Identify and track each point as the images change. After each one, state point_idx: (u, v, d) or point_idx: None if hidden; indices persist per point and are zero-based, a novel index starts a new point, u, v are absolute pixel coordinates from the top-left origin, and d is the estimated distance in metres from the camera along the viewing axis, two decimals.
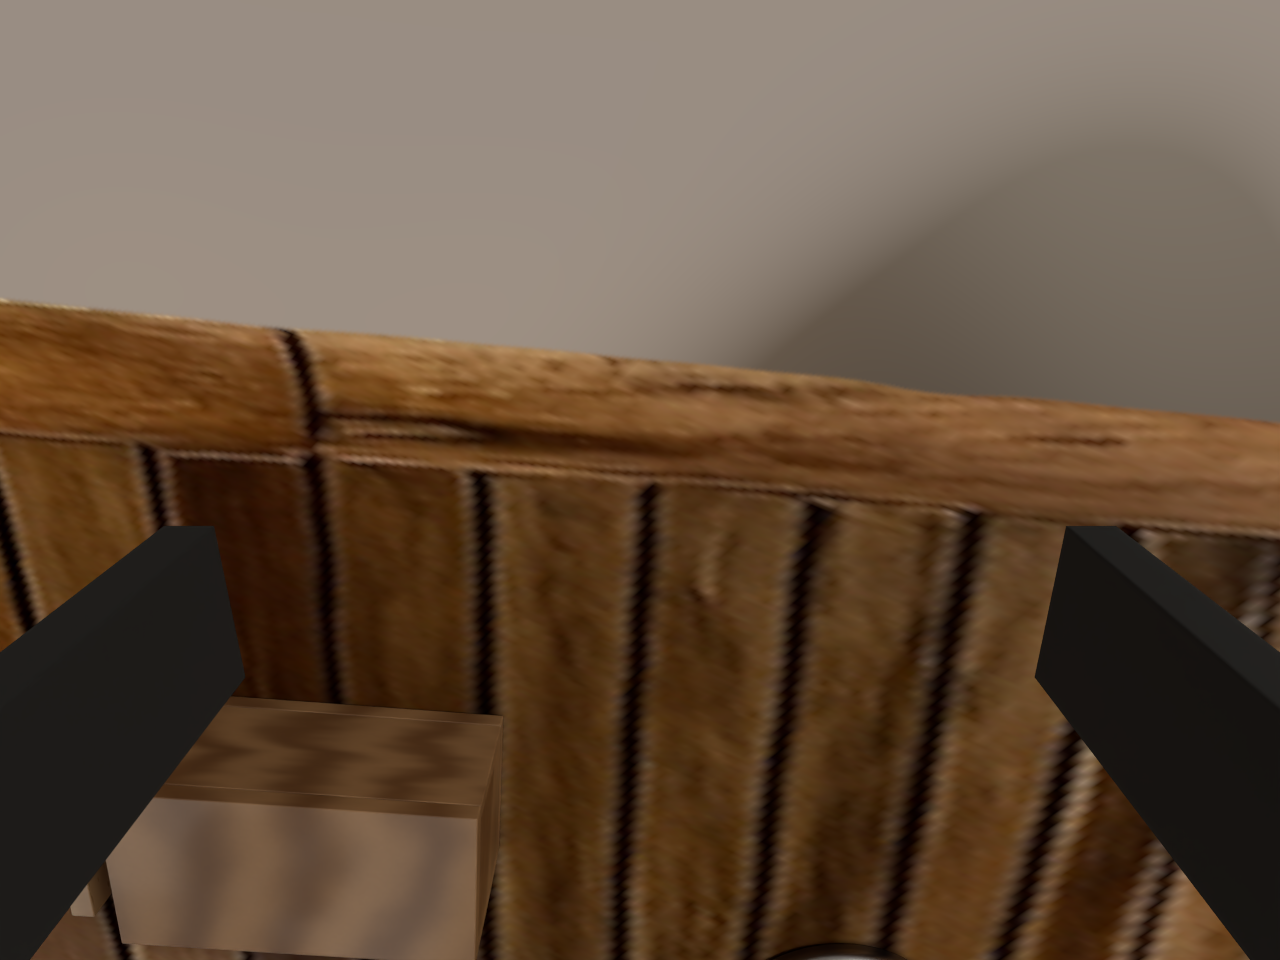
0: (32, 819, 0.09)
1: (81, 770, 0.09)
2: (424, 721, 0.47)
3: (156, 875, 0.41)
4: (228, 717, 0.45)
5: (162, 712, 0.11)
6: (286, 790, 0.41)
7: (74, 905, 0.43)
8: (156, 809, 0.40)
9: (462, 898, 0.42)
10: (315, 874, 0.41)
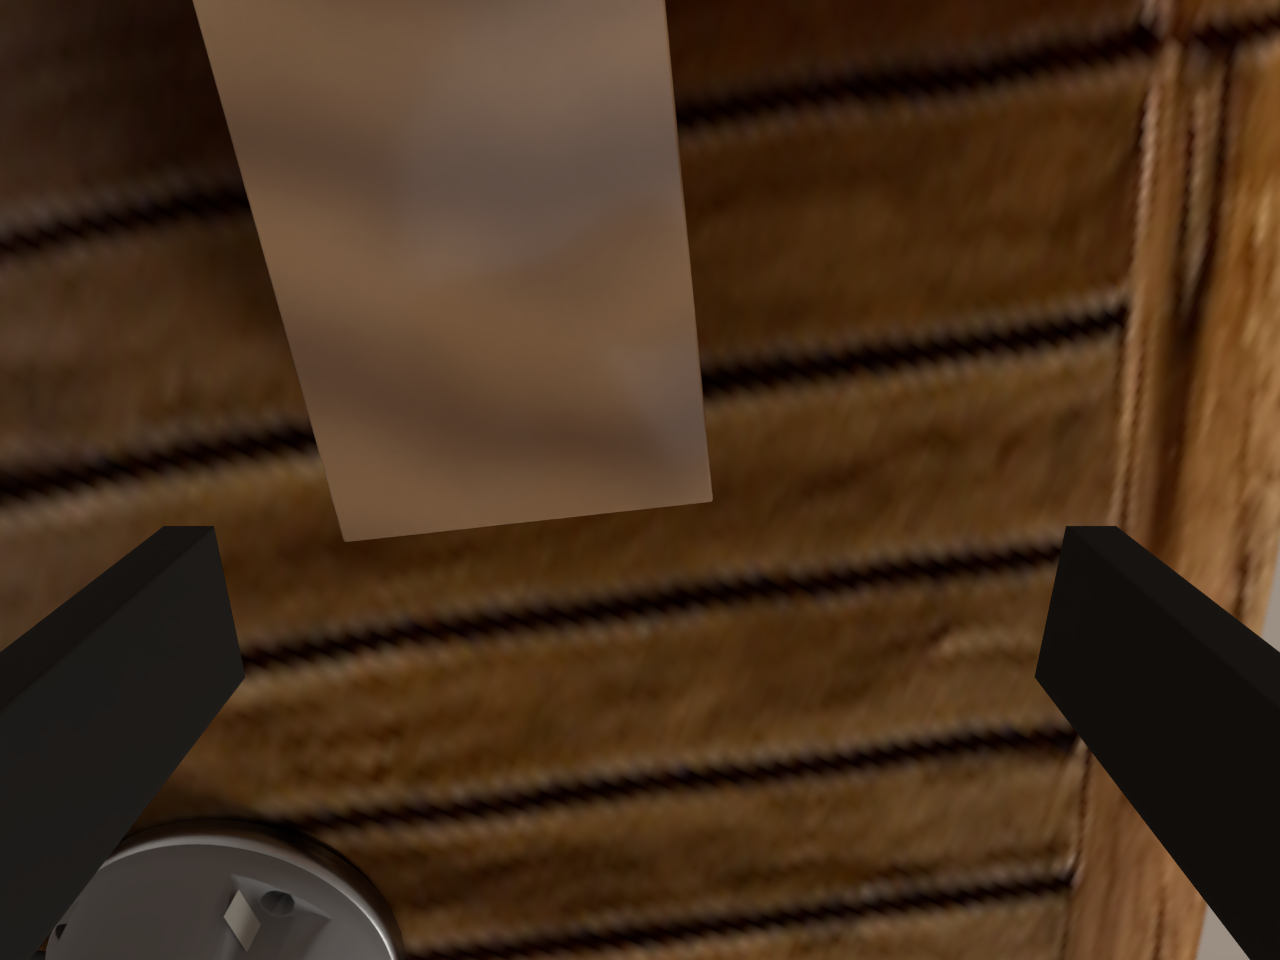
0: (32, 819, 0.09)
1: (81, 770, 0.09)
2: None
3: None
4: None
5: (162, 712, 0.11)
6: None
7: None
8: None
9: (513, 499, 0.22)
10: (497, 201, 0.19)
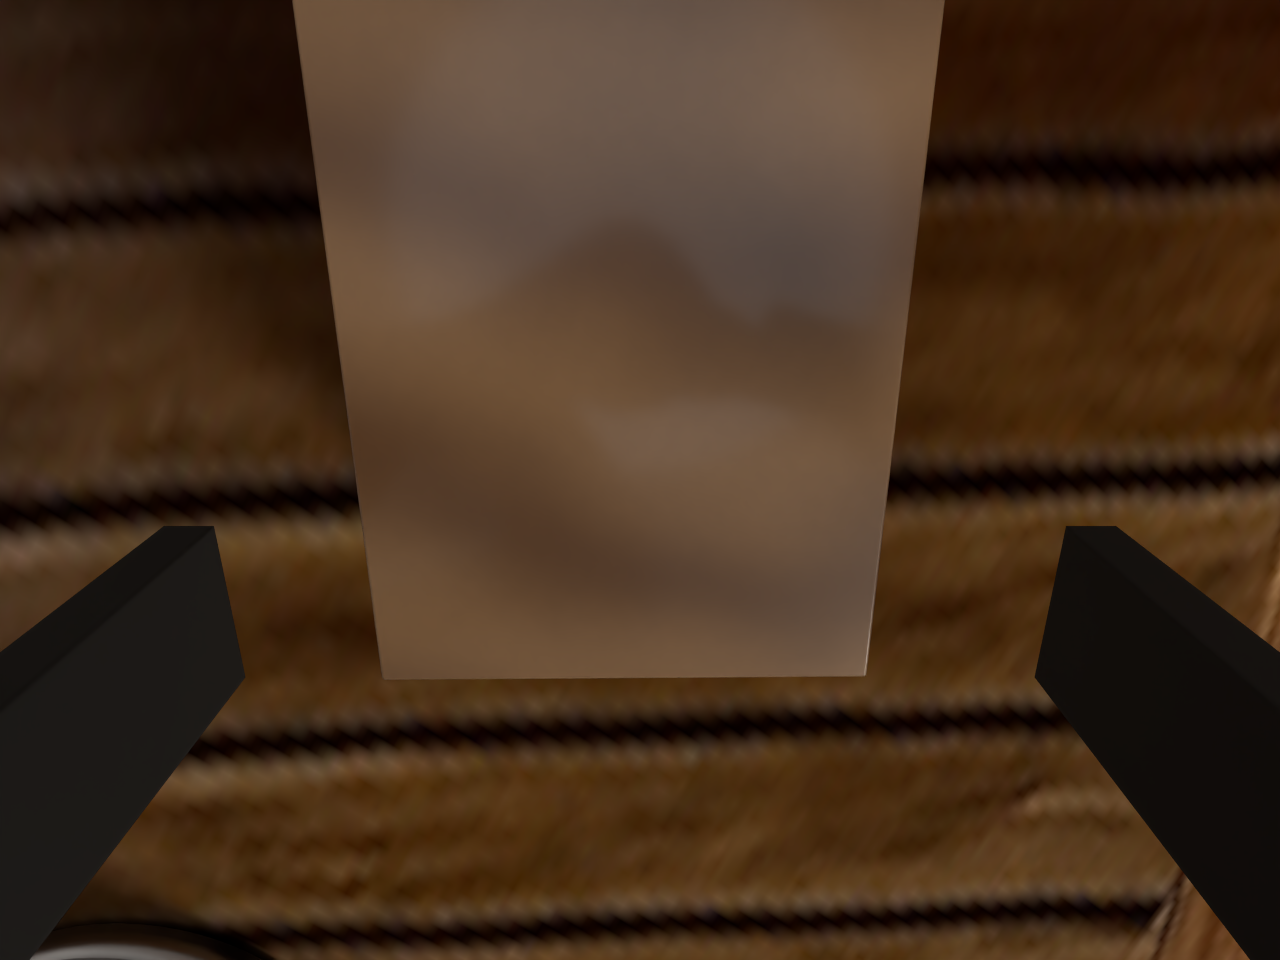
0: (32, 819, 0.09)
1: (81, 771, 0.09)
2: None
3: None
4: None
5: (162, 712, 0.11)
6: None
7: None
8: None
9: (613, 650, 0.17)
10: (664, 278, 0.14)
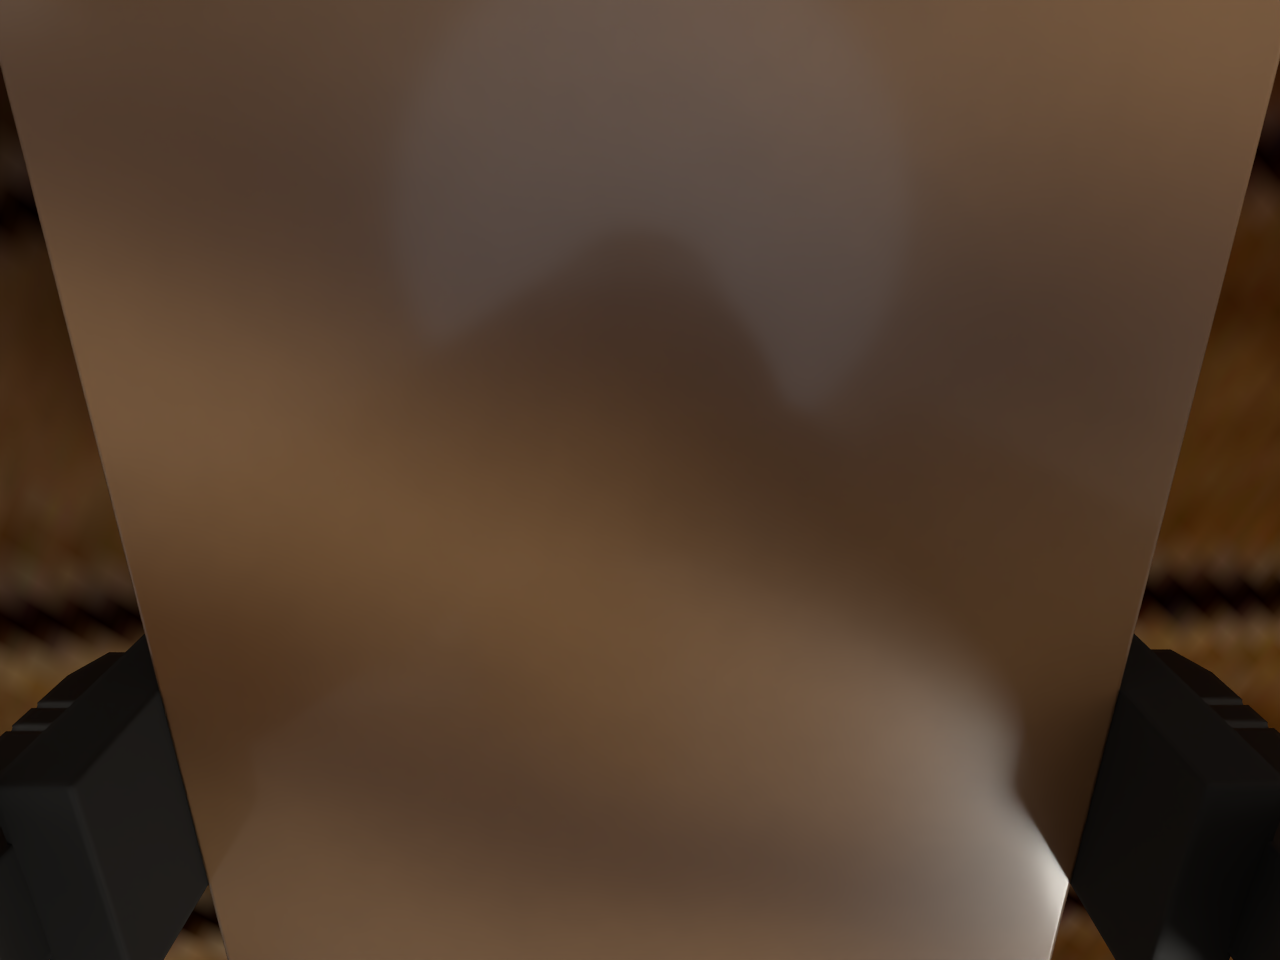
0: None
1: None
2: None
3: None
4: None
5: None
6: None
7: None
8: None
9: None
10: (722, 367, 0.07)
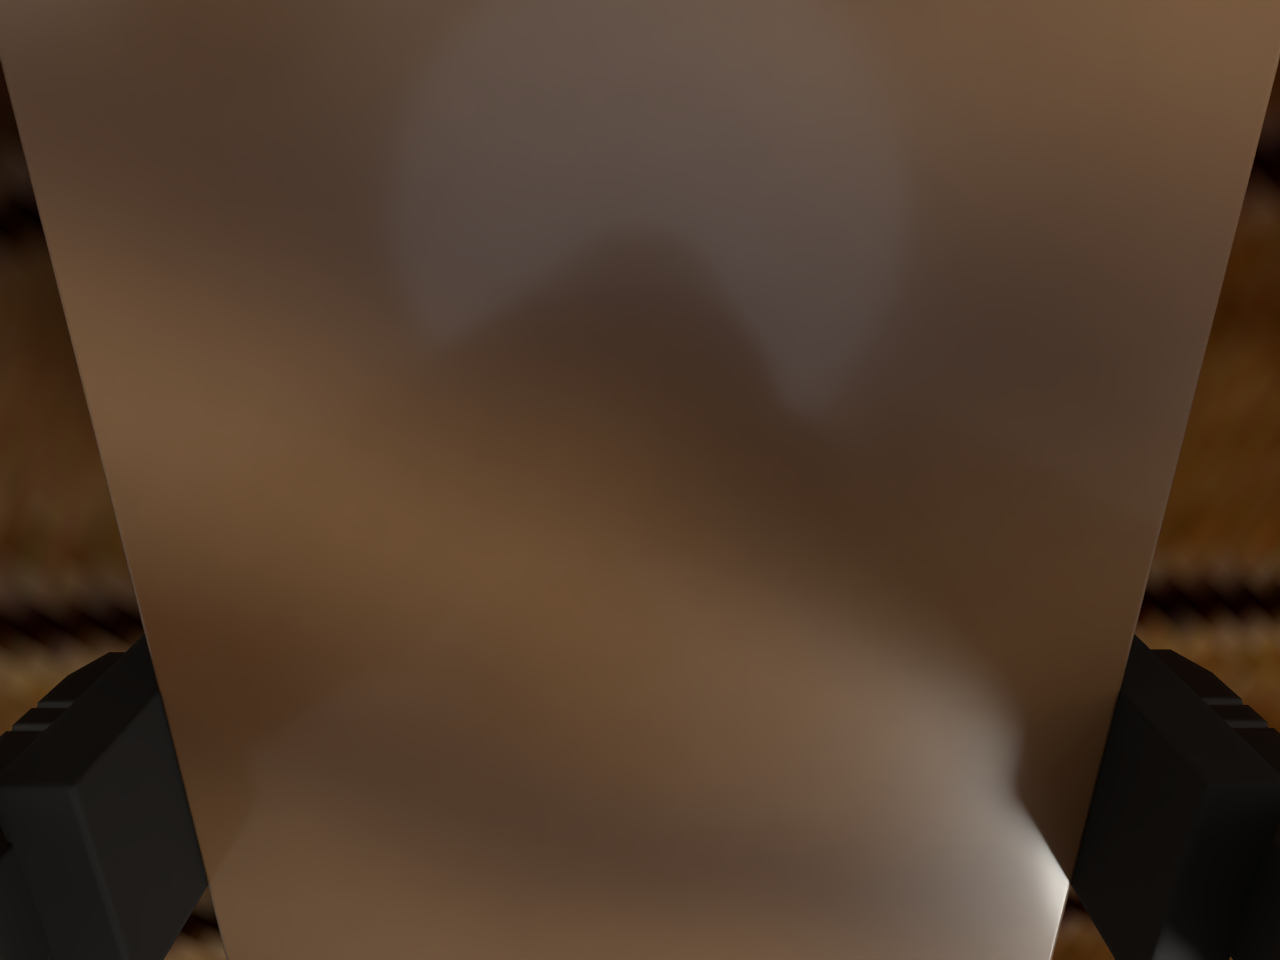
0: None
1: None
2: None
3: None
4: None
5: None
6: None
7: None
8: None
9: None
10: (722, 366, 0.07)
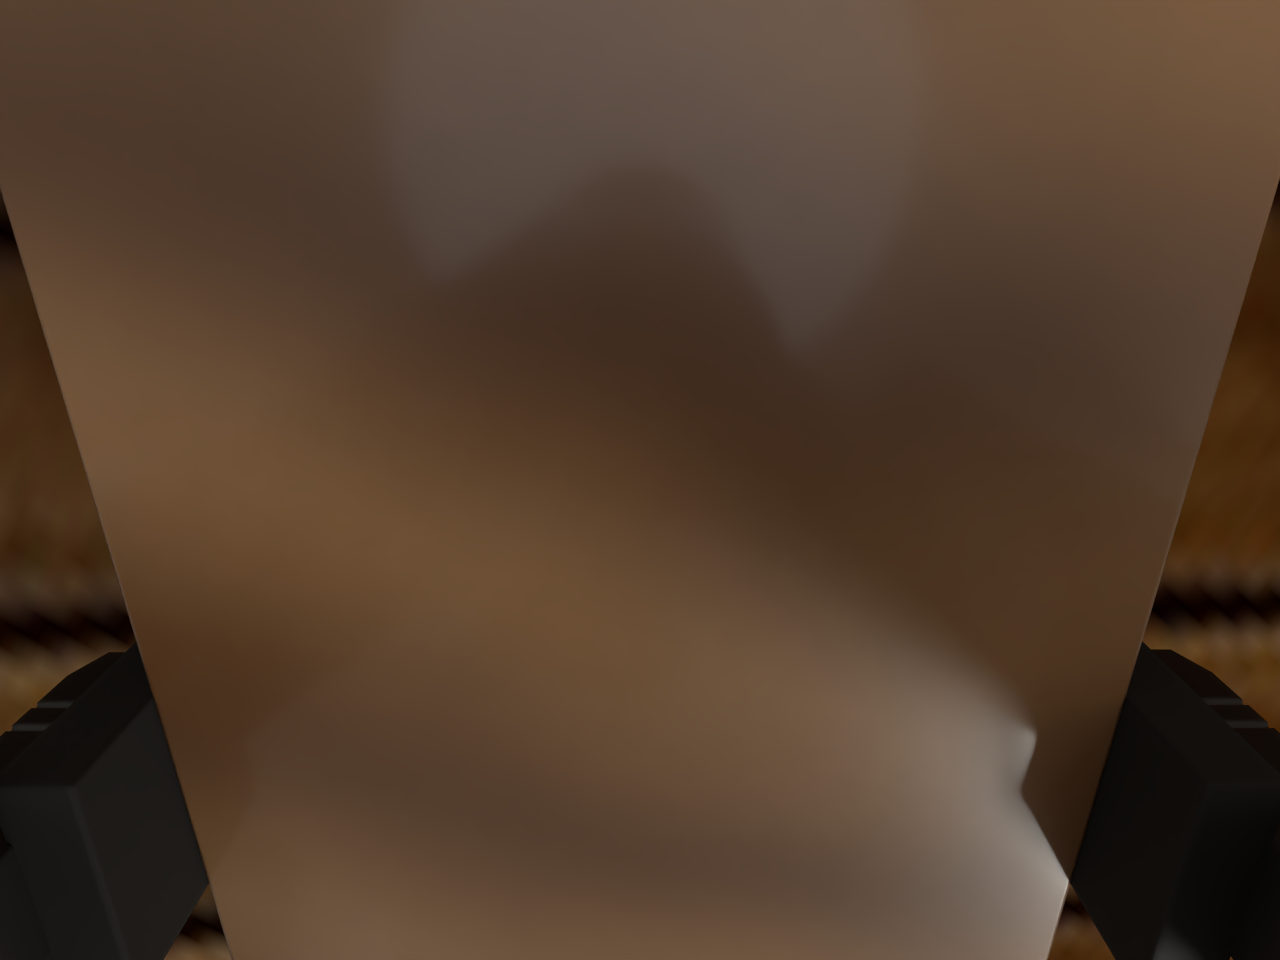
0: None
1: None
2: None
3: None
4: None
5: None
6: None
7: None
8: None
9: None
10: (723, 378, 0.07)
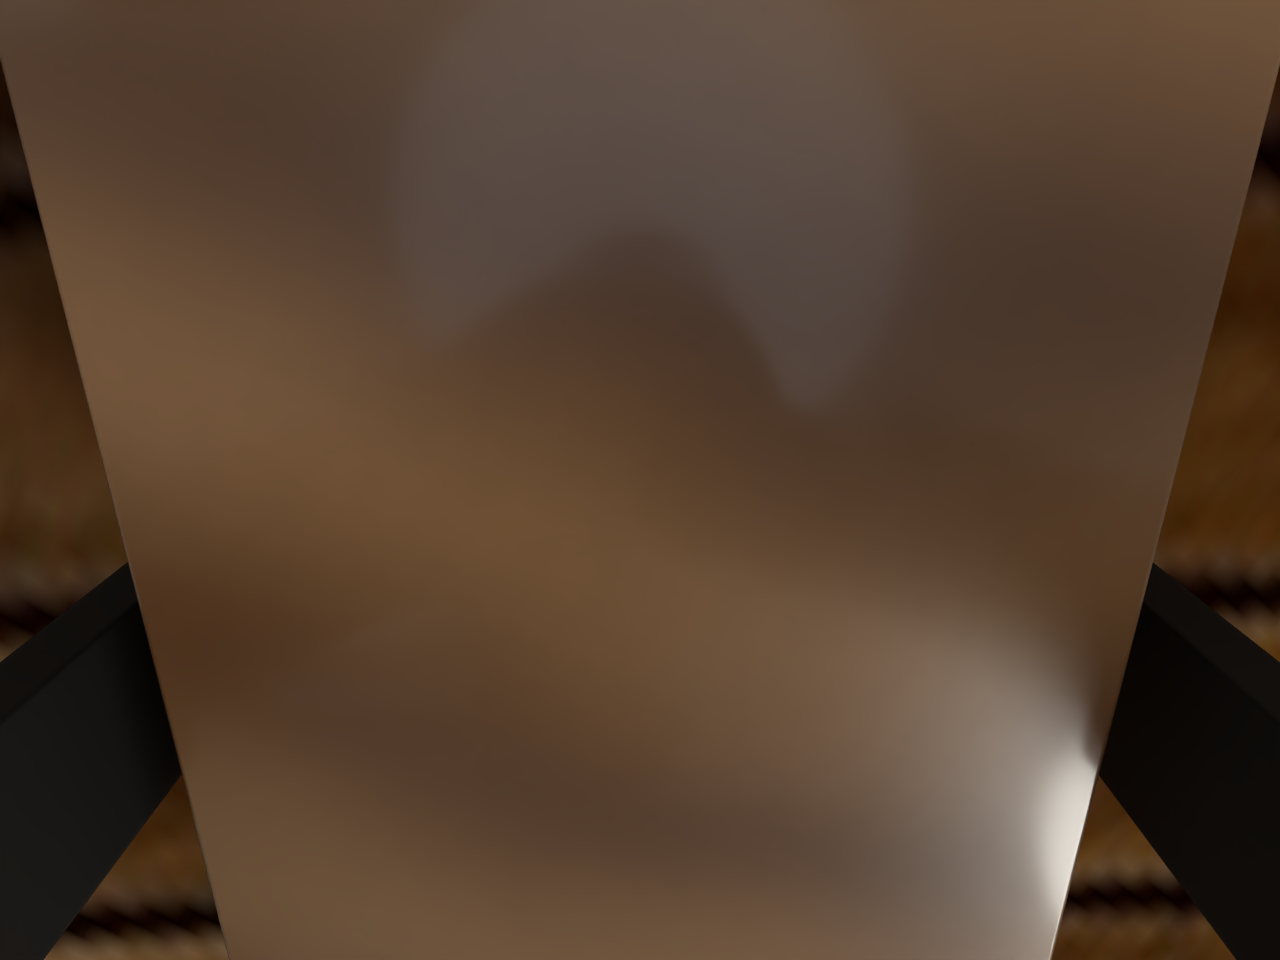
0: (53, 810, 0.09)
1: (100, 763, 0.10)
2: None
3: None
4: None
5: None
6: None
7: None
8: None
9: (621, 940, 0.10)
10: (724, 321, 0.07)
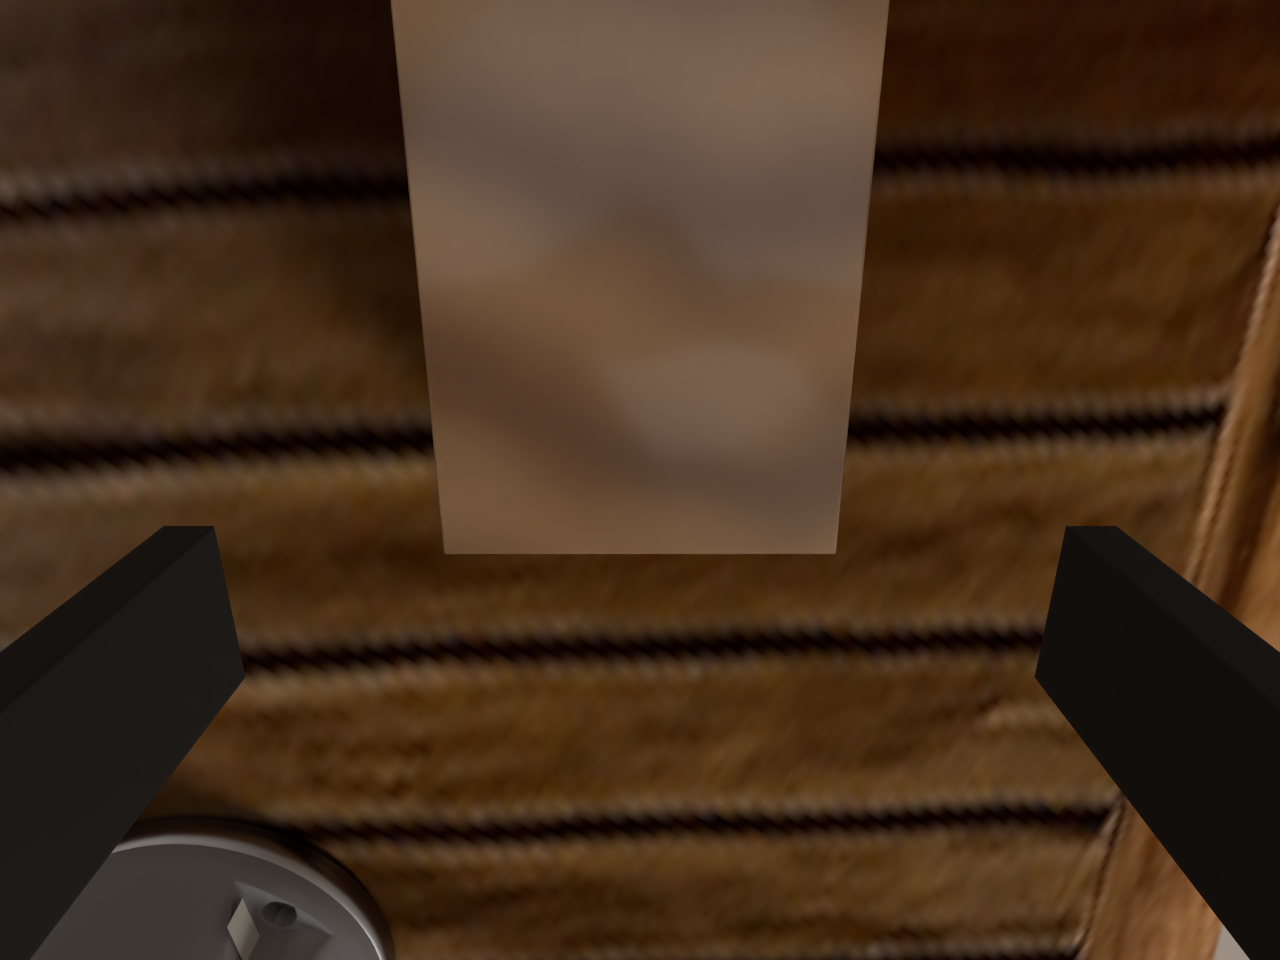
0: (32, 819, 0.09)
1: (81, 770, 0.09)
2: None
3: None
4: None
5: (162, 712, 0.11)
6: None
7: None
8: None
9: (630, 530, 0.21)
10: (673, 222, 0.18)
